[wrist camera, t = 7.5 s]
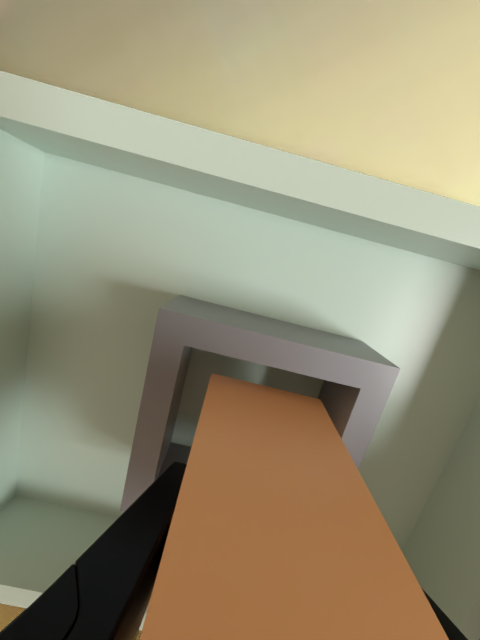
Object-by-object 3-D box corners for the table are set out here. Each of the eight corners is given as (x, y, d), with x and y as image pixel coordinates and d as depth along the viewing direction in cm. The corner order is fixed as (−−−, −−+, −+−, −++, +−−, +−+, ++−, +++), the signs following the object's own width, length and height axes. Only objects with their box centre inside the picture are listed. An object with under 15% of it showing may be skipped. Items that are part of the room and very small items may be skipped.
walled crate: (543, 266, 12) (713, 273, 8) (391, 572, 16) (446, 689, 12) (39, 127, 11) (-94, 44, 7) (9, 490, 15) (-86, 586, 11)
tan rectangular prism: (320, 399, 10) (596, 915, 2) (288, 489, 11) (403, 1087, 3) (211, 372, 10) (86, 835, 2) (188, 466, 11) (38, 1040, 3)
